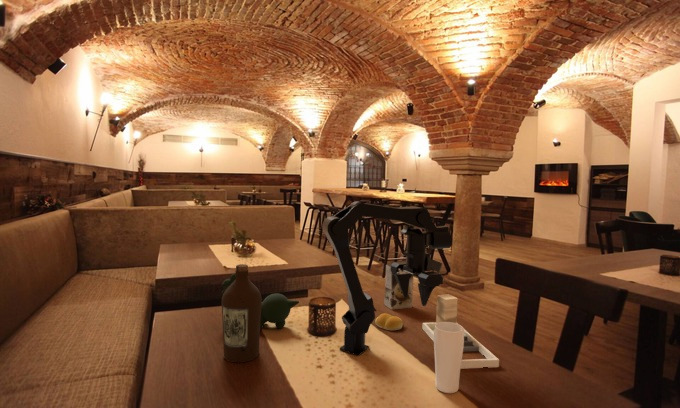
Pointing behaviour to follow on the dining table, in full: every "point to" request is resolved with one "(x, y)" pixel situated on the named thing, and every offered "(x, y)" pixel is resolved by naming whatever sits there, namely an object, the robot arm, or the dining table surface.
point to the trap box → (468, 349)
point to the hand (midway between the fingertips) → (414, 301)
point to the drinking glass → (448, 355)
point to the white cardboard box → (396, 292)
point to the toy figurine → (270, 306)
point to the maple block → (446, 308)
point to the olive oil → (241, 318)
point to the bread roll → (389, 322)
